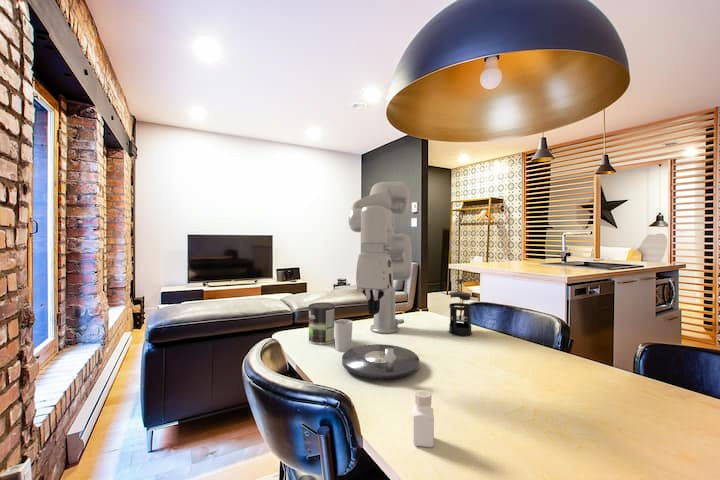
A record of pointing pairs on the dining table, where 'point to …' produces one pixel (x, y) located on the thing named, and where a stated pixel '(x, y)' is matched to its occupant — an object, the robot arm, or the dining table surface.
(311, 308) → the coffee can
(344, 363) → the turntable
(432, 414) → the white pill bottle
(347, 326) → the drinking glass
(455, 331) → the french press
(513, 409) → the dining table surface
